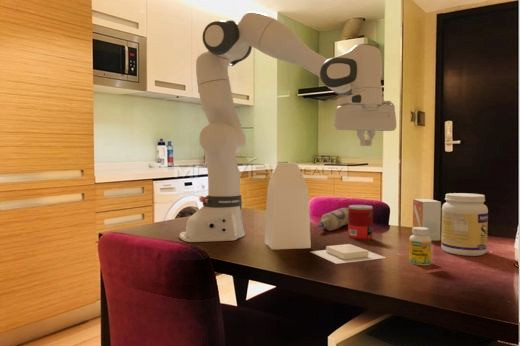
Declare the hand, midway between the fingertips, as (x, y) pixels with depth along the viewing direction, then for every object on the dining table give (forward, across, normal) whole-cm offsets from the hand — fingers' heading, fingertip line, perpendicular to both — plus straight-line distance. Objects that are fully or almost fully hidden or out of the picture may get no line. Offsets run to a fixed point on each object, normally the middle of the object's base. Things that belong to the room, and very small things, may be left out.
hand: (365, 145), depth 127 cm
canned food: (+31, -7, -12) cm, 34 cm away
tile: (+30, +15, +7) cm, 34 cm away
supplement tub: (+31, -24, +15) cm, 42 cm away
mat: (+31, +11, +7) cm, 34 cm away
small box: (+31, -28, -4) cm, 42 cm away
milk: (+31, +21, -11) cm, 39 cm away
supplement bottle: (+31, -2, +21) cm, 38 cm away
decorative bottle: (+32, -9, -33) cm, 46 cm away
